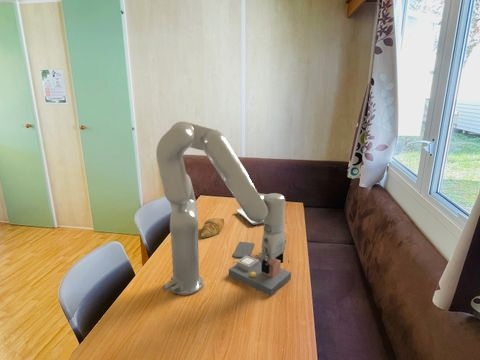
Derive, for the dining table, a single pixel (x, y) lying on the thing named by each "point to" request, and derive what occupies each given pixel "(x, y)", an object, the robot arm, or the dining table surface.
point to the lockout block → (273, 267)
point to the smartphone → (243, 249)
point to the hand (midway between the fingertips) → (272, 267)
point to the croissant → (212, 227)
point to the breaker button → (248, 261)
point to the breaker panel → (258, 276)
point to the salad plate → (247, 217)
